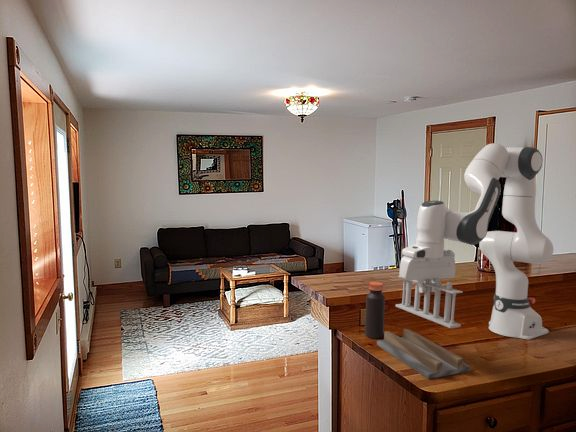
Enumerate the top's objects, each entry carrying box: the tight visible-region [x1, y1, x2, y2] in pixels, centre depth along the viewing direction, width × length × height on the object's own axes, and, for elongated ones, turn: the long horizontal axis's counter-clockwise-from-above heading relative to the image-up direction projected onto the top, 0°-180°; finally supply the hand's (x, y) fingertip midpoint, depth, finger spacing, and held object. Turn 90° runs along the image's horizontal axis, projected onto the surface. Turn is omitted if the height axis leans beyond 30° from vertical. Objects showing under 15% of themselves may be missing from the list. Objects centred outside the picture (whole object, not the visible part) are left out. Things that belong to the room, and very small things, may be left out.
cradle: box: [376, 328, 471, 380], centre depth 153 cm, size 16×28×4 cm, turn 22°
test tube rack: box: [395, 275, 464, 329], centre depth 151 cm, size 25×4×13 cm, turn 27°
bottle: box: [364, 281, 386, 340], centre depth 171 cm, size 7×7×20 cm
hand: (426, 292), depth 151 cm, fingers closed on test tube rack, 2 cm apart
